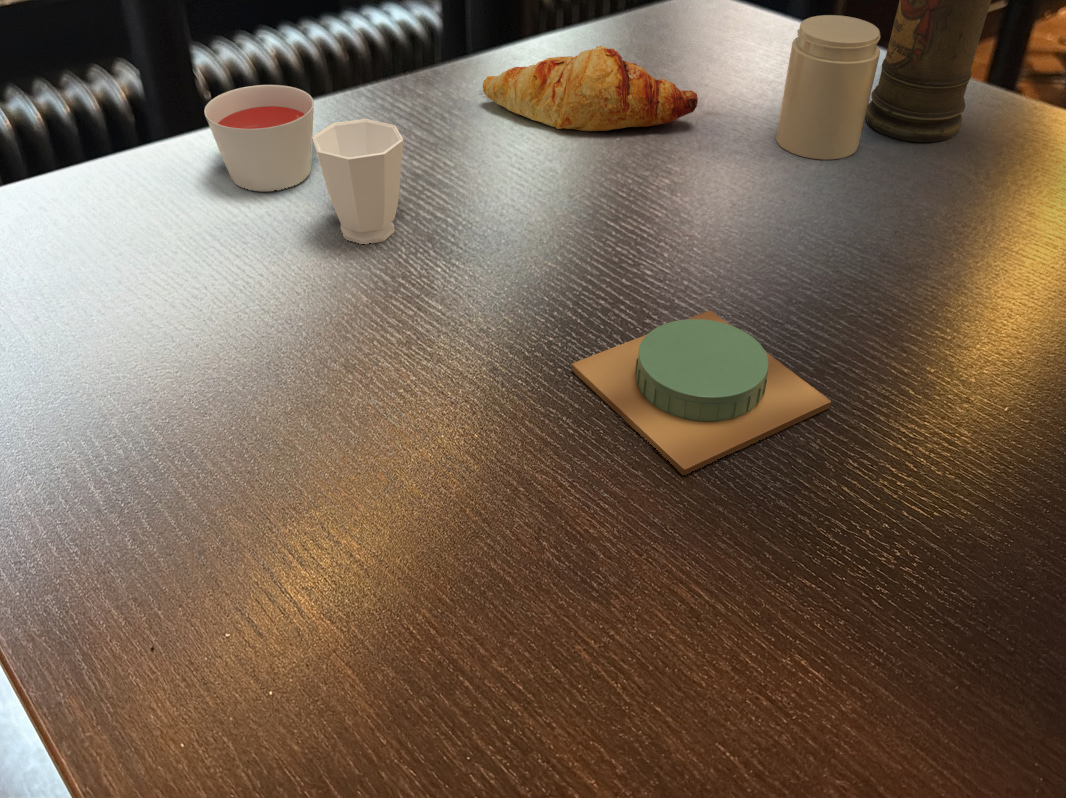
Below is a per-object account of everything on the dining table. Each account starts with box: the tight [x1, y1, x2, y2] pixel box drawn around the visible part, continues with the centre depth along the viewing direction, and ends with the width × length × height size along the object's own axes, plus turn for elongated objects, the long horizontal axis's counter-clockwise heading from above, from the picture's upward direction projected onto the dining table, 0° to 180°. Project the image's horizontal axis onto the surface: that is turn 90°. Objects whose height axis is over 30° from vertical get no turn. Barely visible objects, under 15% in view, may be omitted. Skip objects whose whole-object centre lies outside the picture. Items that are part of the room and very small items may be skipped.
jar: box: [775, 14, 881, 161], centre depth 91 cm, size 8×8×11 cm
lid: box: [635, 318, 769, 422], centre depth 65 cm, size 8×8×2 cm
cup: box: [312, 118, 404, 245], centre depth 79 cm, size 7×10×8 cm
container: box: [865, 0, 992, 143], centre depth 92 cm, size 9×9×18 cm
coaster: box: [570, 309, 832, 476], centre depth 65 cm, size 12×12×1 cm
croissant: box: [482, 45, 699, 132], centre depth 96 cm, size 21×10×8 cm, turn 78°
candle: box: [203, 84, 315, 192], centre depth 86 cm, size 9×9×6 cm
